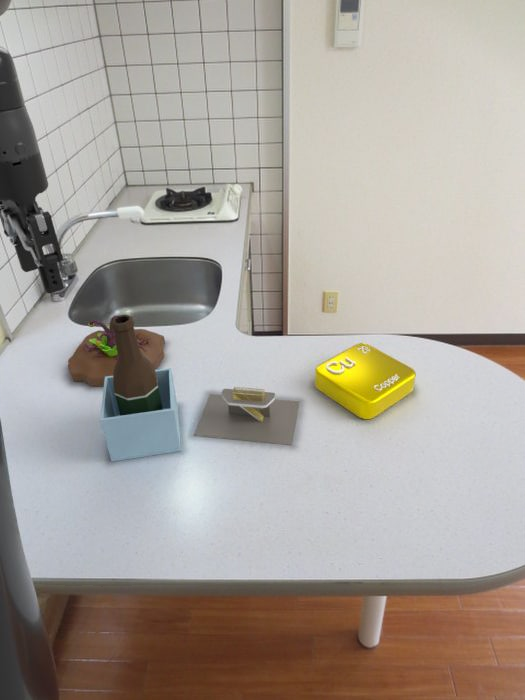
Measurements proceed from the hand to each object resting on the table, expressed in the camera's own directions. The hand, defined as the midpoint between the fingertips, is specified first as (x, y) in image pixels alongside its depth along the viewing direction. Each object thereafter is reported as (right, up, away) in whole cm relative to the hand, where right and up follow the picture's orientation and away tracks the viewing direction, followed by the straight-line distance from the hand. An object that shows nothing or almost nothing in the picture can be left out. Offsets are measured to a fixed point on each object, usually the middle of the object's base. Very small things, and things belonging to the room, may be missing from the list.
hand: (42, 279), depth 69 cm
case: (+8, -24, +28) cm, 38 cm away
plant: (-3, -12, +47) cm, 49 cm away
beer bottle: (+8, -24, +27) cm, 37 cm away
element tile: (+49, -17, +36) cm, 63 cm away
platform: (+26, -22, +30) cm, 46 cm away
